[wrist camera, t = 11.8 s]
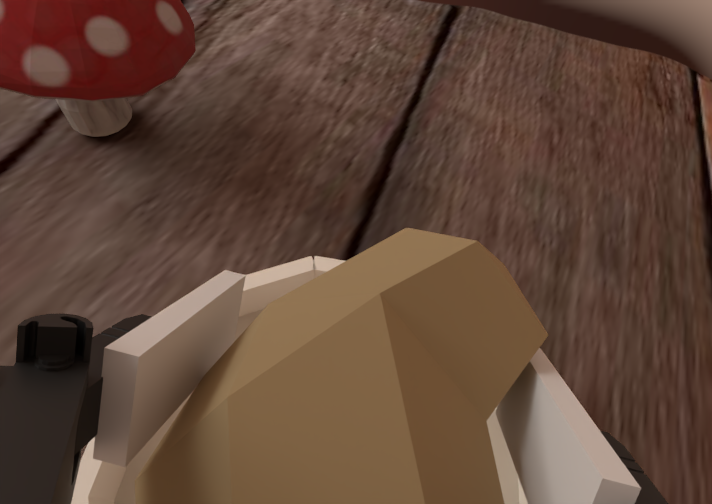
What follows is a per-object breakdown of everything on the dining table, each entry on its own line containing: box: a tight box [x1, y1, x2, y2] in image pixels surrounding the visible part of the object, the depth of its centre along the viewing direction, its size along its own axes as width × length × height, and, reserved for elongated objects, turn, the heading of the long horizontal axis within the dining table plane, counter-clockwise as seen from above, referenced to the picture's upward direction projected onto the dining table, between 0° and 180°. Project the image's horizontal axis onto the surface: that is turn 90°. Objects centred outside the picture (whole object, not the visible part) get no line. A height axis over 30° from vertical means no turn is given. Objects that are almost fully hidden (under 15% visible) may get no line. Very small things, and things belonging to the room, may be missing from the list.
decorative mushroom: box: [0, 0, 195, 137], centre depth 33 cm, size 16×16×15 cm
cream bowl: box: [71, 256, 528, 504], centre depth 24 cm, size 24×24×4 cm
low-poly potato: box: [134, 228, 548, 504], centre depth 13 cm, size 15×11×12 cm
